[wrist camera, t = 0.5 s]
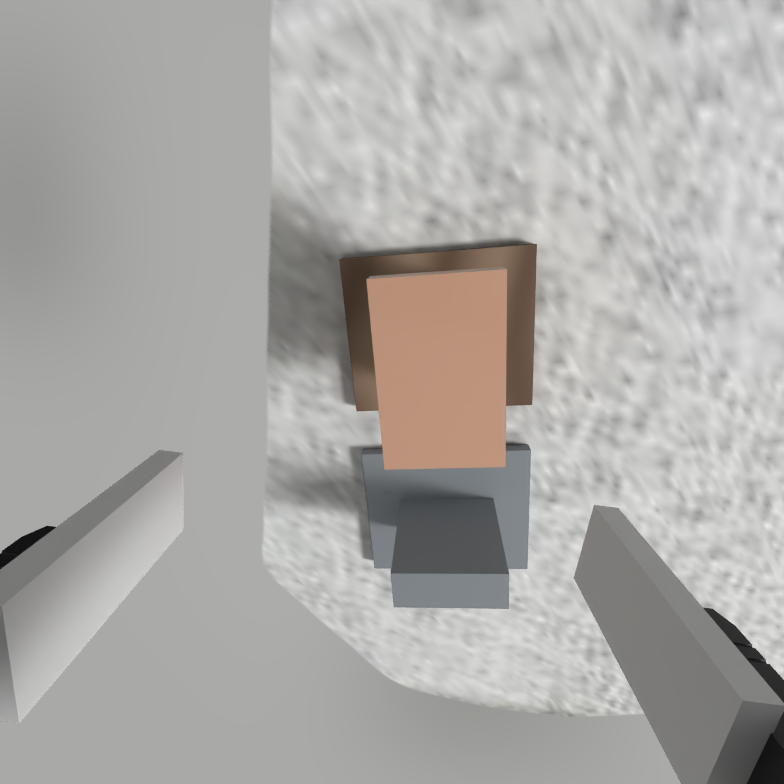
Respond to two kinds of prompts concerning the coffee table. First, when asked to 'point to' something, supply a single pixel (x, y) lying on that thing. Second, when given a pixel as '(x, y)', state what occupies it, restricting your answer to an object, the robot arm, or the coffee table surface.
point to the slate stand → (449, 529)
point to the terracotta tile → (441, 367)
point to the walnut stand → (510, 257)
